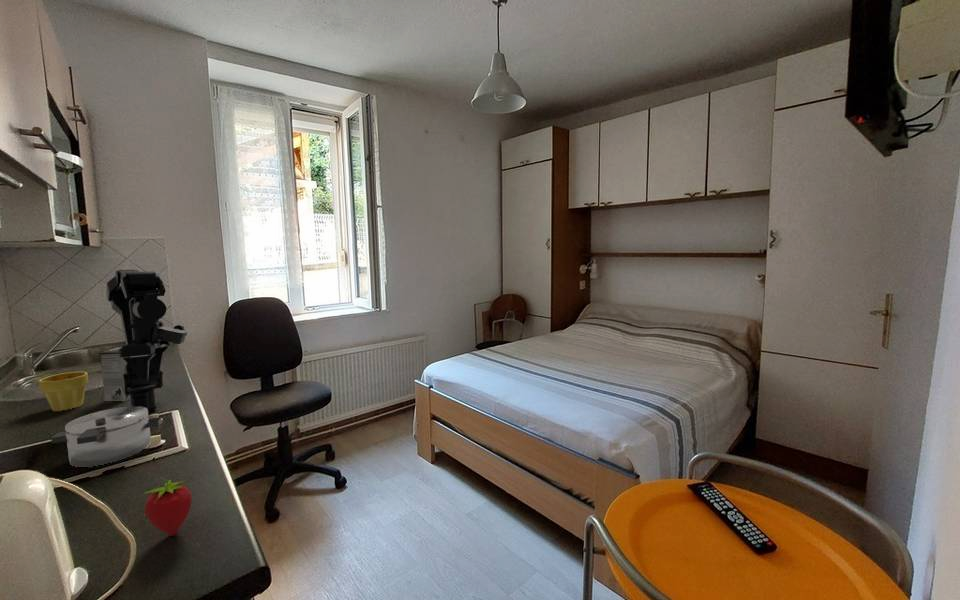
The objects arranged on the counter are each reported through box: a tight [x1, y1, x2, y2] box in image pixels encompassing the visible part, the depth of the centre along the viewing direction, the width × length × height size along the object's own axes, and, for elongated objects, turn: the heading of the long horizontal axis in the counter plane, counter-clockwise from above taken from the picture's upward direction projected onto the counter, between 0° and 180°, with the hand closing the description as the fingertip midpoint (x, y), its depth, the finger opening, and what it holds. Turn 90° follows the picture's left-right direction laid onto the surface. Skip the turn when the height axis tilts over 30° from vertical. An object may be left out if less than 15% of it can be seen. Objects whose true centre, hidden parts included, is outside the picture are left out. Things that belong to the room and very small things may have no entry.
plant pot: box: [38, 371, 89, 412], centre depth 123 cm, size 10×10×10 cm
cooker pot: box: [50, 415, 163, 468], centre depth 93 cm, size 14×19×7 cm
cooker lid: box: [64, 405, 149, 444], centre depth 91 cm, size 19×14×2 cm
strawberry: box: [143, 476, 193, 537], centre depth 64 cm, size 6×8×10 cm
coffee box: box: [99, 345, 131, 402], centre depth 131 cm, size 9×6×16 cm
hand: (151, 377), depth 108 cm, fingers open, 9 cm apart
